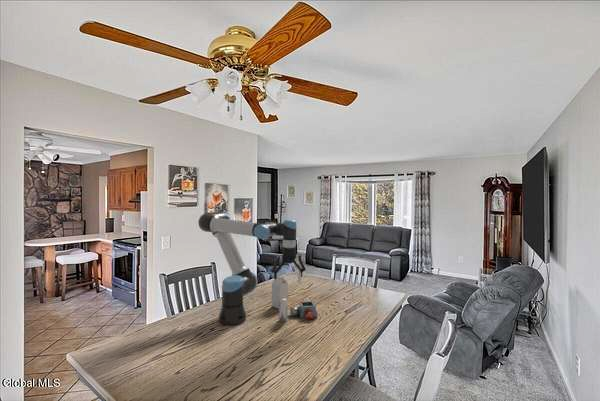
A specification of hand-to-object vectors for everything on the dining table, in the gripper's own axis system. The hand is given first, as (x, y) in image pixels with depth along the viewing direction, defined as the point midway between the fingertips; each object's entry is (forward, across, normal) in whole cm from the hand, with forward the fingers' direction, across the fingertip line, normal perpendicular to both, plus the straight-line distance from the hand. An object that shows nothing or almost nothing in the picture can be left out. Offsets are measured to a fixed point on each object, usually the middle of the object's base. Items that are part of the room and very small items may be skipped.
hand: (288, 283), depth 164 cm
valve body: (+19, +10, -1) cm, 22 cm away
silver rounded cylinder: (+20, -3, -3) cm, 20 cm away
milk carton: (+20, +1, +19) cm, 27 cm away
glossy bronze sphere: (+19, +18, +7) cm, 27 cm away
